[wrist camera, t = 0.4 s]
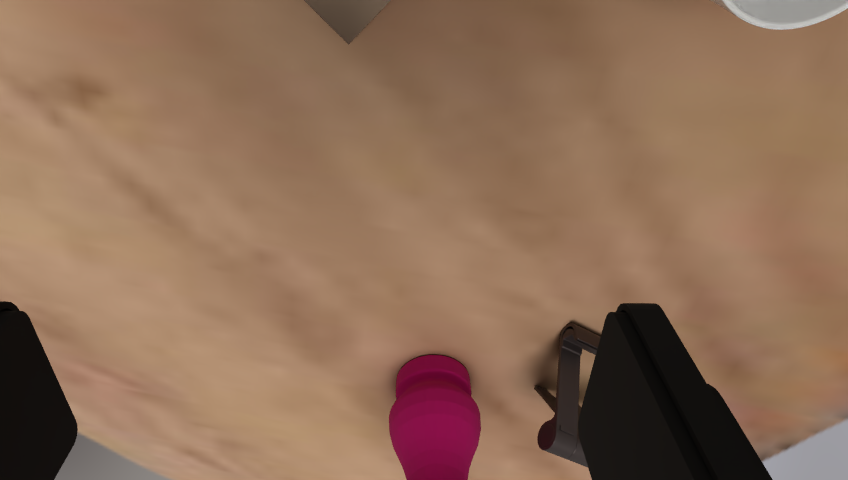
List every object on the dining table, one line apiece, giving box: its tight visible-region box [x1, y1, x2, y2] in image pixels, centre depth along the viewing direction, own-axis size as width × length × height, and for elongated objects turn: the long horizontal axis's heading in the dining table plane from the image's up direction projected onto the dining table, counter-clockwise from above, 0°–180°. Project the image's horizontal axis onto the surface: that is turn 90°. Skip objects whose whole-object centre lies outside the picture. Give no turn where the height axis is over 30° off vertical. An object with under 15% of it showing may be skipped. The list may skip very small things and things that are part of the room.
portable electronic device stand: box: [534, 323, 601, 467], centre depth 45 cm, size 9×8×8 cm
